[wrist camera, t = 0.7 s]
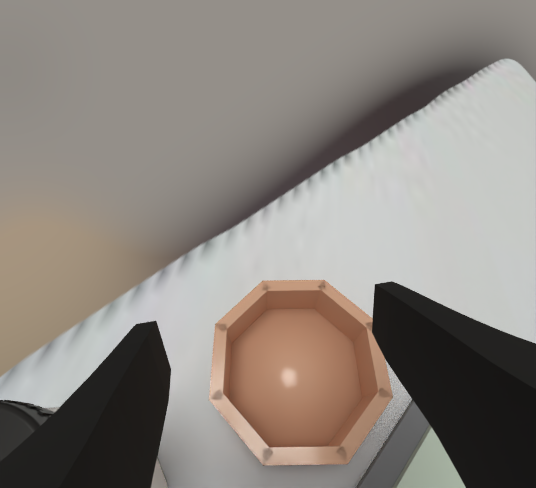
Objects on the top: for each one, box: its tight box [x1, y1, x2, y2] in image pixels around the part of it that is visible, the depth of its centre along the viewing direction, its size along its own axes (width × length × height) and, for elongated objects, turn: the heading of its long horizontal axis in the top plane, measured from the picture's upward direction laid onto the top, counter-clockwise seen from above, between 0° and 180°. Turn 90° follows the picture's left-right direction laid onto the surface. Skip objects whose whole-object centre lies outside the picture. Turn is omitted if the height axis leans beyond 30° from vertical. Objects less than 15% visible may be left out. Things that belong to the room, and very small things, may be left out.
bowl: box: [209, 280, 393, 466], centre depth 21 cm, size 11×11×4 cm
